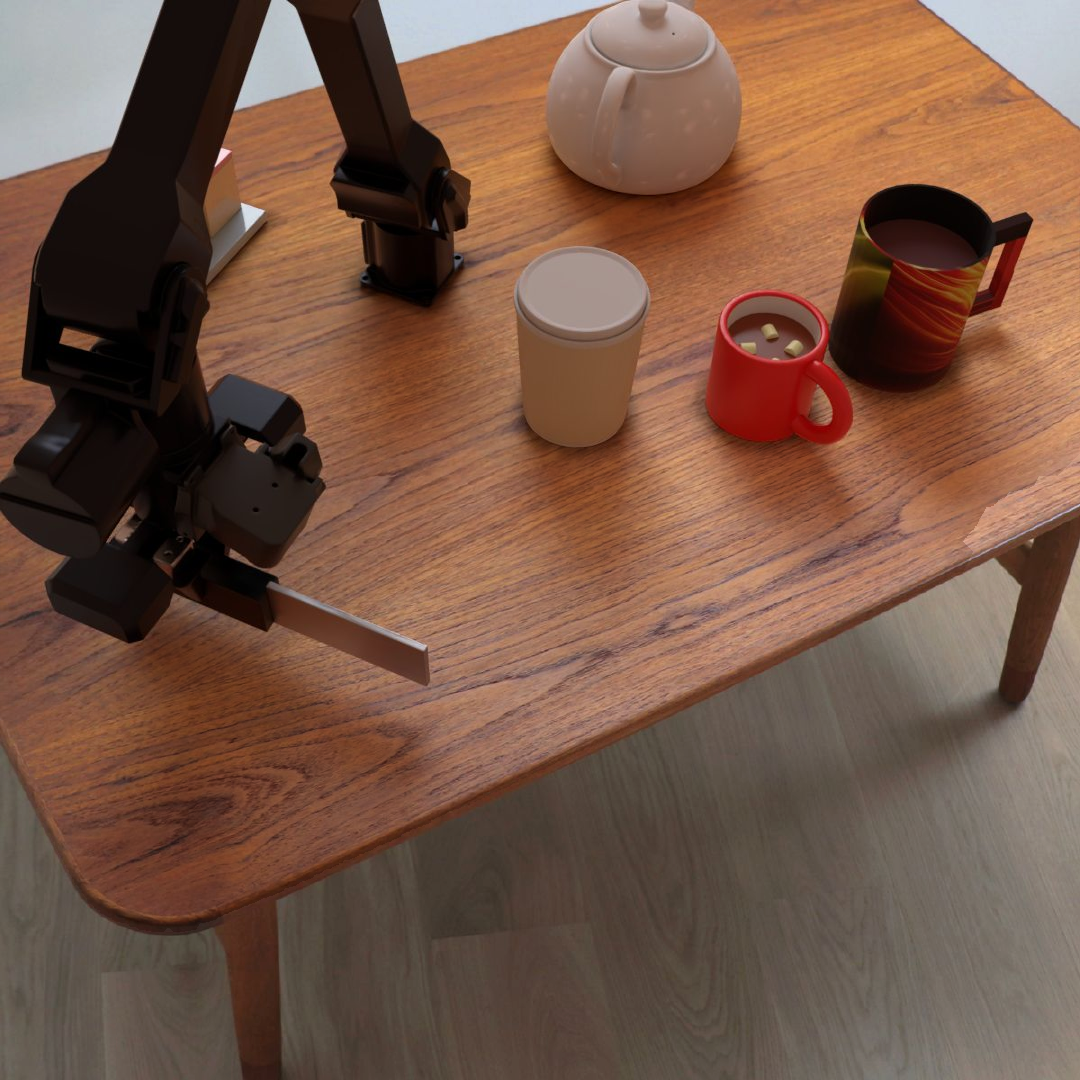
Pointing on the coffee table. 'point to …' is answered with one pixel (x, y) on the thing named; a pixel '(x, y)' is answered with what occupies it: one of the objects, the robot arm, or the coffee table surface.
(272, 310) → the coffee table surface
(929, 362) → the mug
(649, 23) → the teapot
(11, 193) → the coffee table surface
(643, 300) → the coffee cup
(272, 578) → the knife
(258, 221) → the cake plate
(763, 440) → the mug
